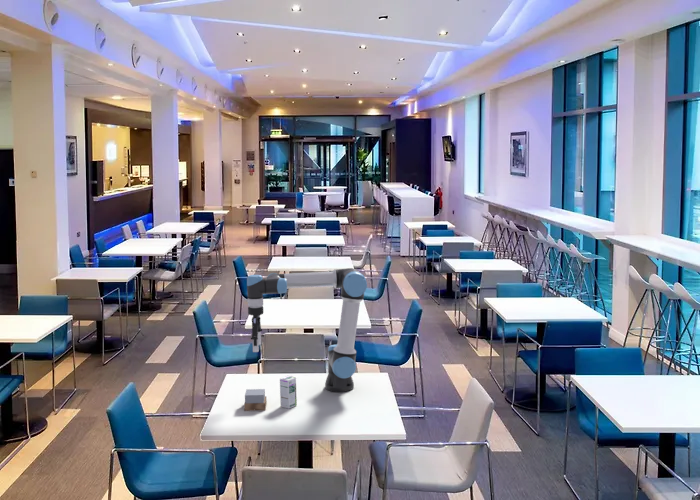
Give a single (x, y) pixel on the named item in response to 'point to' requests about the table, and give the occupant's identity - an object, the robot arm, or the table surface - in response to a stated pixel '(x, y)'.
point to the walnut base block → (255, 406)
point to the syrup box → (288, 392)
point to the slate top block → (254, 395)
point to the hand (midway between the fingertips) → (257, 348)
